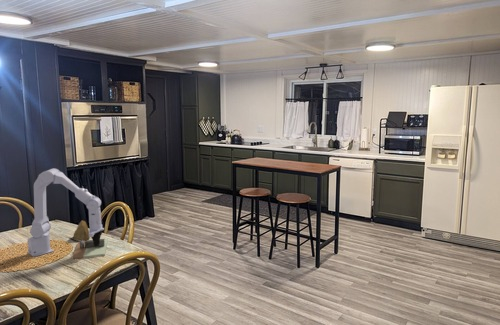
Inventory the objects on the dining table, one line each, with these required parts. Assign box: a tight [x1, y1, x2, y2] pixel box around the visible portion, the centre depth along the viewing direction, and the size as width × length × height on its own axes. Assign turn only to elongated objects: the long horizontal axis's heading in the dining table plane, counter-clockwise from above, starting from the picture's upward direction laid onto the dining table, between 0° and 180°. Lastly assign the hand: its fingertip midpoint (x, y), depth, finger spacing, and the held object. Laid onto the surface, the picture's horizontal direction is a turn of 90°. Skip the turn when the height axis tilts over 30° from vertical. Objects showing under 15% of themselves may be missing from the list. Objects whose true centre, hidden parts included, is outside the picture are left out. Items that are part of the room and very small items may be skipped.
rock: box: [72, 220, 91, 241], centre depth 197 cm, size 11×9×10 cm
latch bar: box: [84, 238, 105, 248], centre depth 183 cm, size 9×3×3 cm, turn 108°
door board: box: [71, 238, 109, 260], centre depth 181 cm, size 22×15×4 cm
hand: (96, 245), depth 181 cm, fingers closed, pressing on latch bar
